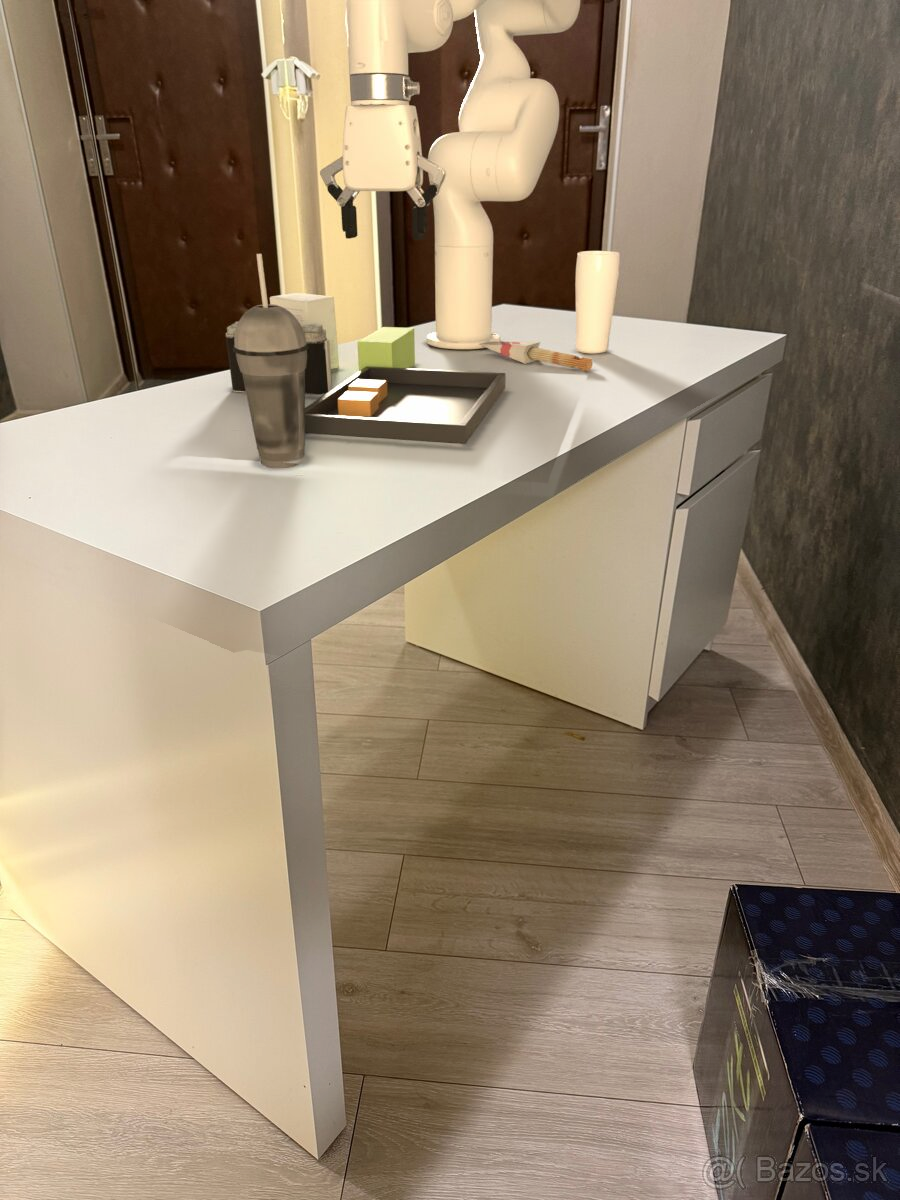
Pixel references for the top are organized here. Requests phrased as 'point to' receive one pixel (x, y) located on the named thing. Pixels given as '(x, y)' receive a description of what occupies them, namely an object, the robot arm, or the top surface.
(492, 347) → the paintbrush
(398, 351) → the sponge
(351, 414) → the block
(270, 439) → the beverage cup
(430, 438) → the pan
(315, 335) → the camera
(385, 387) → the block
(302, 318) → the small box
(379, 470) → the top surface
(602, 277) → the drinking glass
